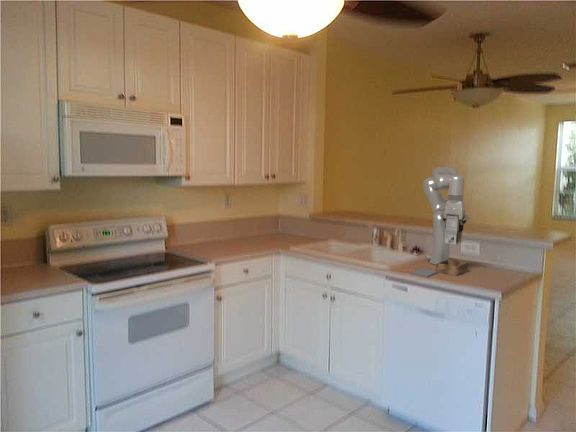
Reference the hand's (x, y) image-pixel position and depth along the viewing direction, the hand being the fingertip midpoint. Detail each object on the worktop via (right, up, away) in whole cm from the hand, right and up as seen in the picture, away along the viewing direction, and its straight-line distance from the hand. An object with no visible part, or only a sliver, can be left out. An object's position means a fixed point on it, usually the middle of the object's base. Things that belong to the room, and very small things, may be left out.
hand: (453, 230), depth 244 cm
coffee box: (0, -7, +1) cm, 7 cm away
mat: (-17, -23, -3) cm, 29 cm away
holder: (0, -23, +2) cm, 23 cm away
